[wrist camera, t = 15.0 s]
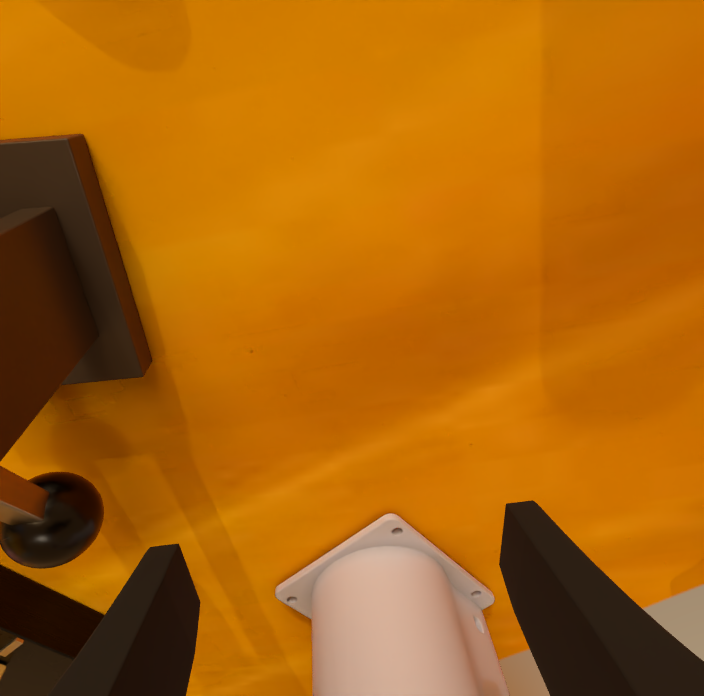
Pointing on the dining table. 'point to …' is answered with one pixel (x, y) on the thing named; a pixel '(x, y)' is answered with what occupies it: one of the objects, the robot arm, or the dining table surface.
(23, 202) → the lever bracket
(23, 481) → the door lever
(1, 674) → the tan block red patch
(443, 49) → the dining table surface
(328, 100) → the dining table surface
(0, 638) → the plate
